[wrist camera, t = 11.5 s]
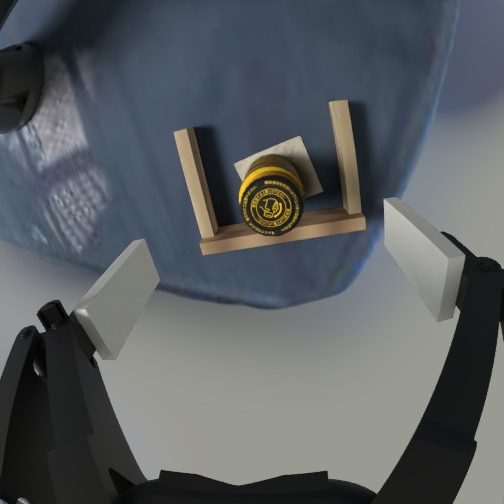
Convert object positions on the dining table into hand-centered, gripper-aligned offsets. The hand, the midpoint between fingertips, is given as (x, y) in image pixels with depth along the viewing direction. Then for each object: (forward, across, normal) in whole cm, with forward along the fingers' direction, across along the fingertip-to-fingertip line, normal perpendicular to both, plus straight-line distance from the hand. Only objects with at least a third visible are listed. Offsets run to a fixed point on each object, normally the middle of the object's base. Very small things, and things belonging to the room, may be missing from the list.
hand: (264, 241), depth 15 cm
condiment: (+21, +1, -1) cm, 21 cm away
